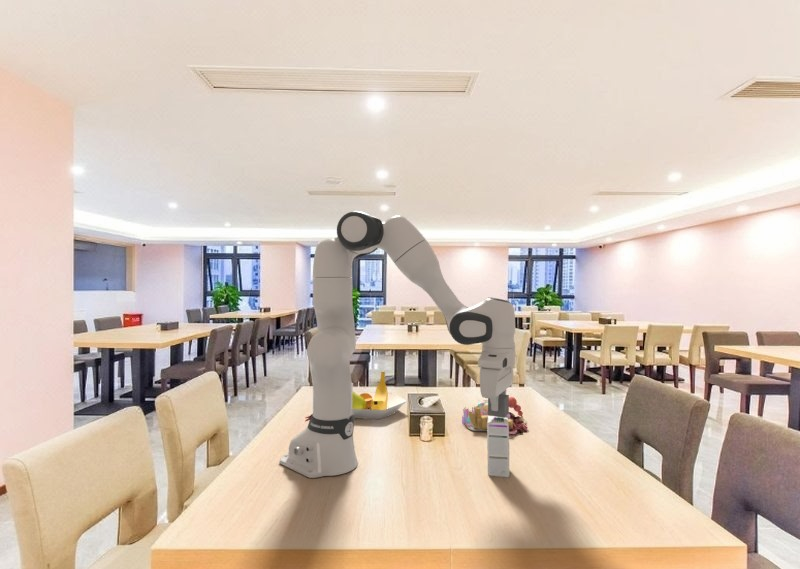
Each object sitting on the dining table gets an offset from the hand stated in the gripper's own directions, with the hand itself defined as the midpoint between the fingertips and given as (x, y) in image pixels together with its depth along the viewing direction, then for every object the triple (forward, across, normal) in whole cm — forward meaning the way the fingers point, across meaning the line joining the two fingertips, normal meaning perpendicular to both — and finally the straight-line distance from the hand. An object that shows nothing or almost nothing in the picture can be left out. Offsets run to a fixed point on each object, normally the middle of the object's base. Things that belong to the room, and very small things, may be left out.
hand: (498, 407), depth 111 cm
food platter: (+18, -39, -12) cm, 45 cm away
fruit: (+18, -28, -60) cm, 69 cm away
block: (+2, 0, 0) cm, 2 cm away
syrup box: (+18, 0, 0) cm, 18 cm away
